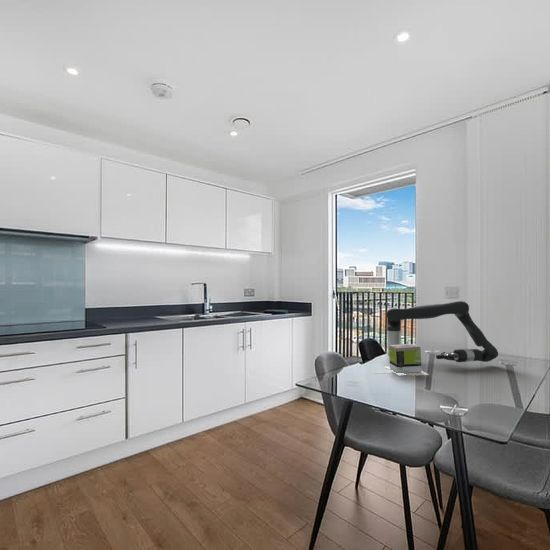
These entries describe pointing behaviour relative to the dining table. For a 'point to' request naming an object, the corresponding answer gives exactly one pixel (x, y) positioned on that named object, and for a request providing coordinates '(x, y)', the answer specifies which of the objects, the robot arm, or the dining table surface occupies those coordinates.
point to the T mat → (411, 372)
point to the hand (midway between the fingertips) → (436, 357)
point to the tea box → (405, 358)
